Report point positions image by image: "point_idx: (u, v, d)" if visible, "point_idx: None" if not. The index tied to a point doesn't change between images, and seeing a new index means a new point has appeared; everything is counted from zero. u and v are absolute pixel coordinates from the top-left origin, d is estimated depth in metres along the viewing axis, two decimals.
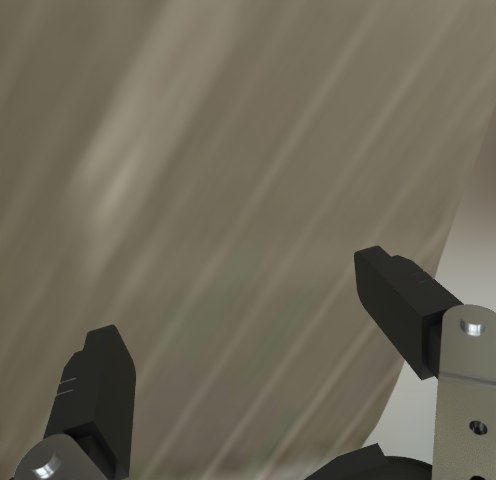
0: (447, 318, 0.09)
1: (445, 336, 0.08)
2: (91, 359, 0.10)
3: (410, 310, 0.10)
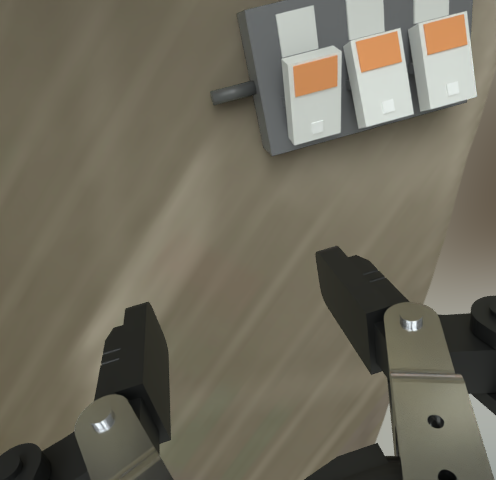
0: (388, 317, 0.09)
1: (389, 336, 0.09)
2: (132, 331, 0.11)
3: (358, 307, 0.10)
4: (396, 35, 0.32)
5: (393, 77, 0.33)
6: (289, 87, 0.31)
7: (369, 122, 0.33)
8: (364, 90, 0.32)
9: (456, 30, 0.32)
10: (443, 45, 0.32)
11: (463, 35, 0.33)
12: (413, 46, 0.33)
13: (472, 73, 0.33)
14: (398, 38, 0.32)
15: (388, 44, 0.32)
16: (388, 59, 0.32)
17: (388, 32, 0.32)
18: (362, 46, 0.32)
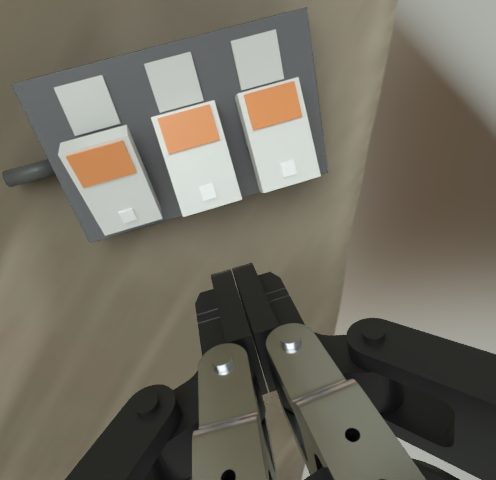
0: (270, 347, 0.09)
1: (278, 364, 0.09)
2: (225, 293, 0.12)
3: (251, 327, 0.10)
4: (209, 109, 0.26)
5: (211, 158, 0.27)
6: (71, 177, 0.25)
7: (186, 211, 0.27)
8: (175, 174, 0.27)
9: (286, 100, 0.27)
10: (271, 118, 0.27)
11: (296, 106, 0.27)
12: (241, 118, 0.28)
13: (312, 149, 0.28)
14: (212, 112, 0.26)
15: (199, 120, 0.26)
16: (201, 138, 0.26)
17: (199, 106, 0.26)
18: (166, 124, 0.26)
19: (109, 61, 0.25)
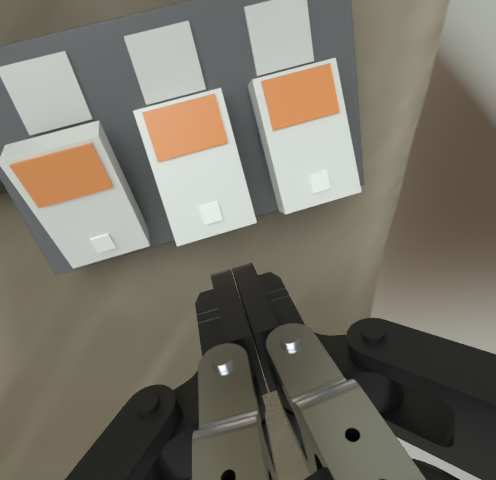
0: (271, 347, 0.09)
1: (278, 364, 0.09)
2: (225, 293, 0.12)
3: (251, 327, 0.10)
4: (214, 100, 0.19)
5: (216, 167, 0.20)
6: (21, 193, 0.18)
7: (181, 239, 0.20)
8: (167, 189, 0.20)
9: (318, 90, 0.19)
10: (298, 114, 0.20)
11: (331, 97, 0.20)
12: (255, 113, 0.21)
13: (352, 155, 0.21)
14: (218, 105, 0.19)
15: (200, 115, 0.19)
16: (203, 139, 0.19)
17: (199, 96, 0.19)
18: (154, 120, 0.19)
19: (75, 31, 0.18)
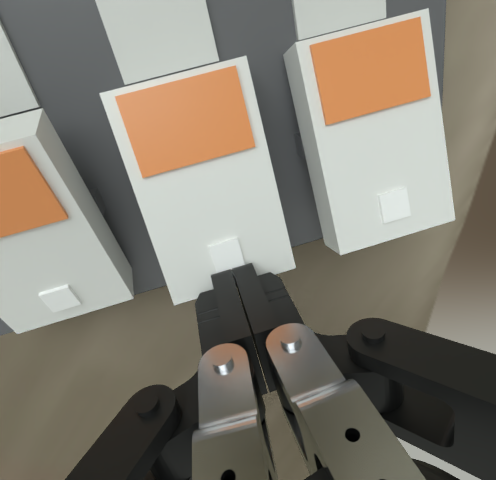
0: (270, 347, 0.09)
1: (278, 364, 0.09)
2: (225, 293, 0.12)
3: (251, 327, 0.10)
4: (235, 77, 0.11)
5: (236, 185, 0.12)
6: None
7: (181, 294, 0.13)
8: (158, 221, 0.12)
9: (400, 60, 0.12)
10: (366, 100, 0.12)
11: (419, 73, 0.12)
12: (296, 98, 0.13)
13: (444, 165, 0.13)
14: (241, 85, 0.12)
15: (213, 102, 0.11)
16: (216, 142, 0.12)
17: (211, 69, 0.11)
18: (135, 109, 0.11)
19: None
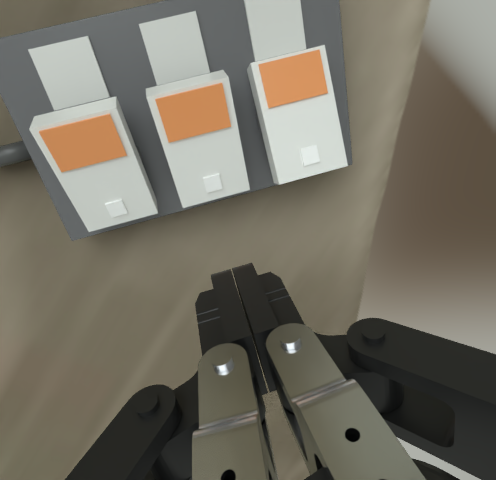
0: (270, 346, 0.09)
1: (278, 364, 0.09)
2: (225, 294, 0.12)
3: (251, 327, 0.10)
4: (221, 89, 0.20)
5: (219, 146, 0.22)
6: (47, 158, 0.21)
7: (187, 202, 0.24)
8: (176, 164, 0.22)
9: (309, 73, 0.22)
10: (291, 94, 0.22)
11: (321, 80, 0.22)
12: (254, 94, 0.23)
13: (339, 132, 0.23)
14: (225, 93, 0.21)
15: (208, 103, 0.21)
16: (209, 124, 0.21)
17: (208, 84, 0.20)
18: (166, 106, 0.20)
19: (97, 19, 0.21)
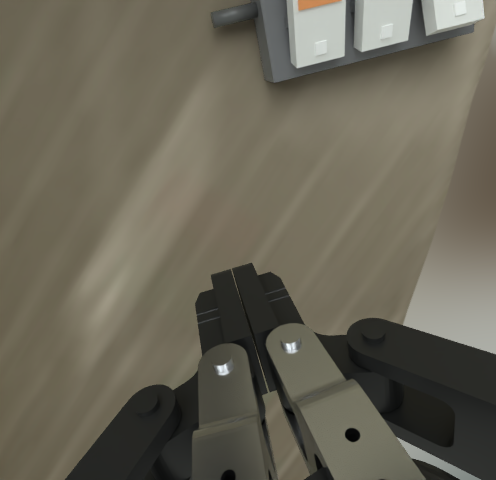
0: (270, 347, 0.09)
1: (278, 364, 0.09)
2: (225, 294, 0.12)
3: (251, 327, 0.10)
4: None
5: (399, 0, 0.32)
6: None
7: (365, 47, 0.34)
8: (368, 13, 0.32)
9: None
10: None
11: None
12: None
13: None
14: None
15: None
16: None
17: None
18: None
19: None
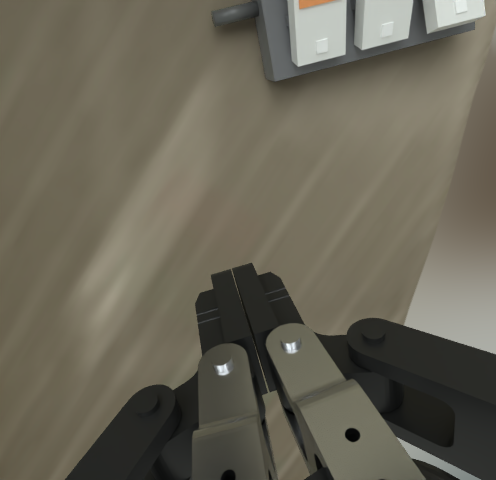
0: (270, 347, 0.09)
1: (278, 364, 0.09)
2: (225, 293, 0.12)
3: (251, 327, 0.10)
4: None
5: None
6: None
7: (365, 45, 0.34)
8: (368, 11, 0.32)
9: None
10: None
11: None
12: None
13: None
14: None
15: None
16: None
17: None
18: None
19: None
